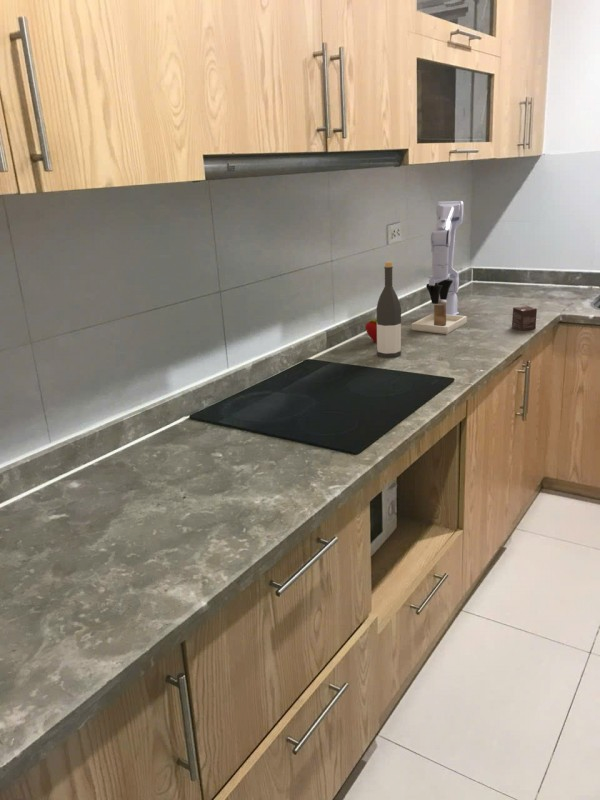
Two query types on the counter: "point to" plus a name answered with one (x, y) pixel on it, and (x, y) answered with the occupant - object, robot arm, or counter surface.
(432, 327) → the tray
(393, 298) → the wine bottle
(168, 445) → the counter surface
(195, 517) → the counter surface
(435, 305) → the shaker
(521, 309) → the box
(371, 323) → the strawberry
